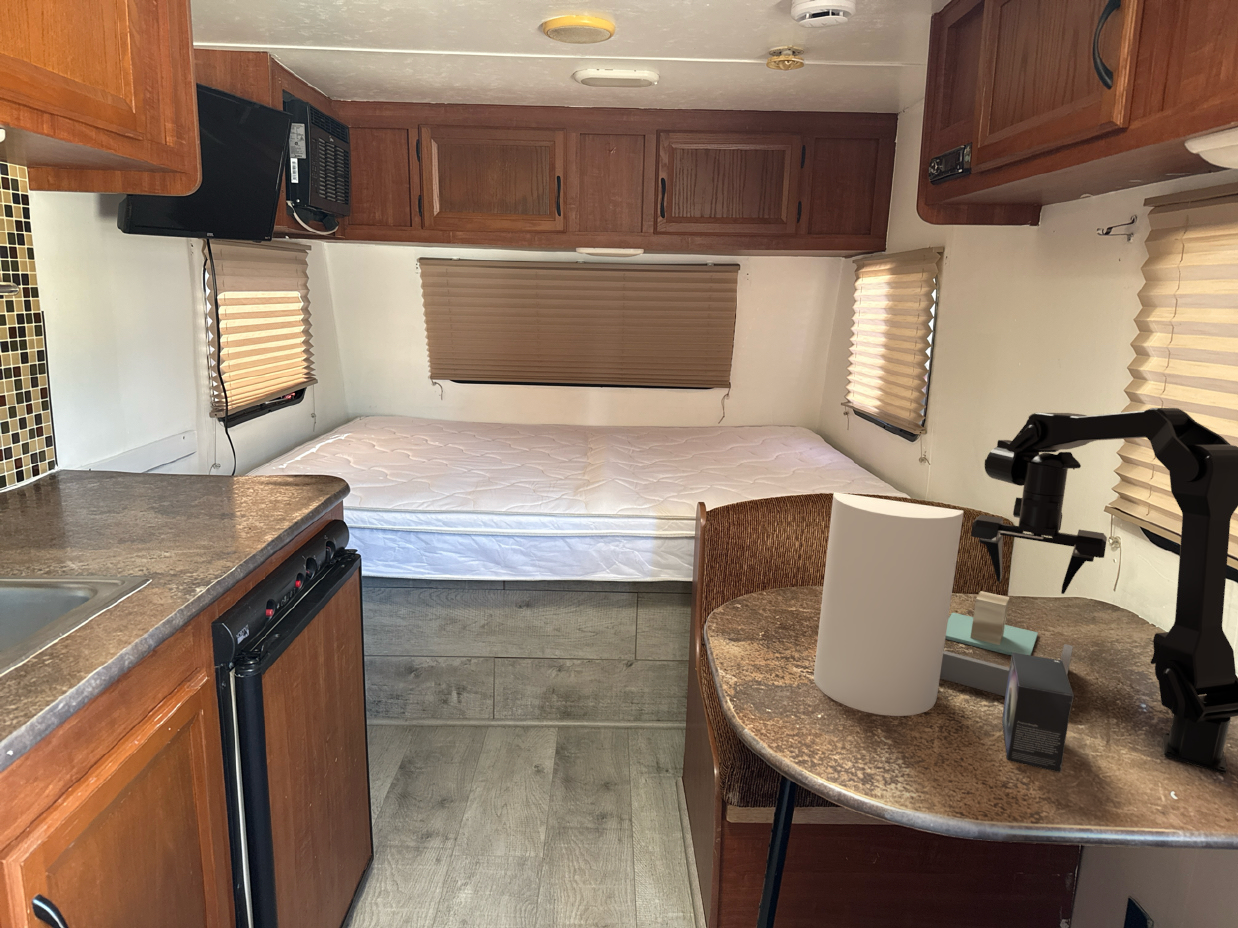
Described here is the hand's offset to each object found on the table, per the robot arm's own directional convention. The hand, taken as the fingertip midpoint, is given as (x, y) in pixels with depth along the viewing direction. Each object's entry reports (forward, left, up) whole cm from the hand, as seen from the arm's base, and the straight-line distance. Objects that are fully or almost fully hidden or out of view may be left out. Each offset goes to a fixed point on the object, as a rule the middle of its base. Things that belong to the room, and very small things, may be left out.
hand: (1030, 587), depth 129 cm
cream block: (+2, +5, -11) cm, 12 cm away
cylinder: (-26, +16, -12) cm, 33 cm away
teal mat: (+5, +5, -12) cm, 14 cm away
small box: (-30, -5, -12) cm, 33 cm away
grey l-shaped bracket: (-9, +5, -12) cm, 16 cm away
